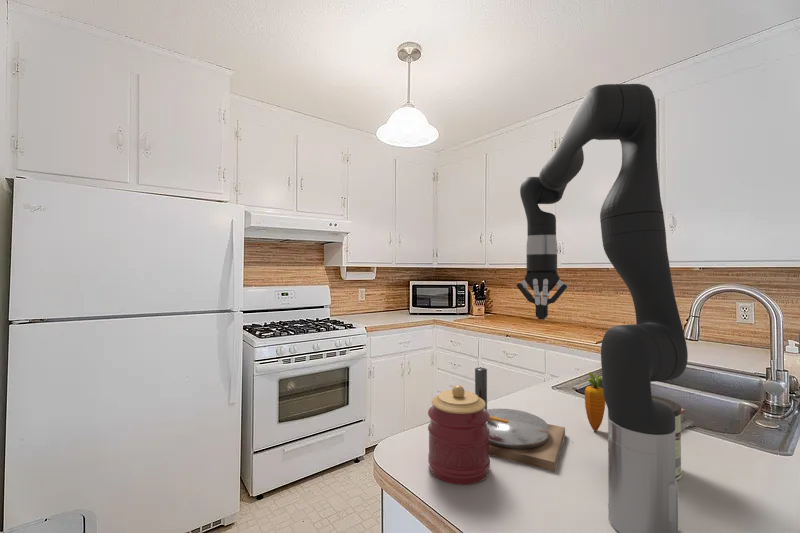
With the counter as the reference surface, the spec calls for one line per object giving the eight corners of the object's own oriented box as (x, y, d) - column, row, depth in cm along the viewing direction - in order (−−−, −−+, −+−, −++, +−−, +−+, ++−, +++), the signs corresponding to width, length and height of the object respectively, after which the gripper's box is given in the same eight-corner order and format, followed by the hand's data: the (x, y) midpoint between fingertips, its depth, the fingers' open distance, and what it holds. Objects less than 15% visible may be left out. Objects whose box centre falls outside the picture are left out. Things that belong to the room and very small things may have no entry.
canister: (415, 466, 79) (415, 384, 79) (455, 447, 87) (455, 373, 87) (462, 495, 69) (461, 401, 69) (502, 470, 77) (502, 386, 77)
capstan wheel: (557, 426, 93) (556, 371, 93) (537, 457, 78) (536, 391, 78) (489, 410, 103) (488, 360, 103) (460, 434, 88) (460, 376, 88)
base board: (565, 435, 93) (565, 426, 93) (554, 471, 76) (554, 460, 76) (477, 416, 104) (477, 408, 104) (451, 445, 88) (451, 435, 88)
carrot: (609, 436, 92) (608, 376, 92) (587, 434, 93) (587, 375, 93) (602, 427, 97) (602, 371, 97) (582, 426, 98) (581, 370, 98)
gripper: (512, 253, 96) (512, 319, 96) (567, 252, 90) (567, 323, 90) (518, 254, 103) (519, 316, 103) (570, 253, 96) (571, 319, 96)
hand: (541, 319), depth 96 cm, fingers closed
